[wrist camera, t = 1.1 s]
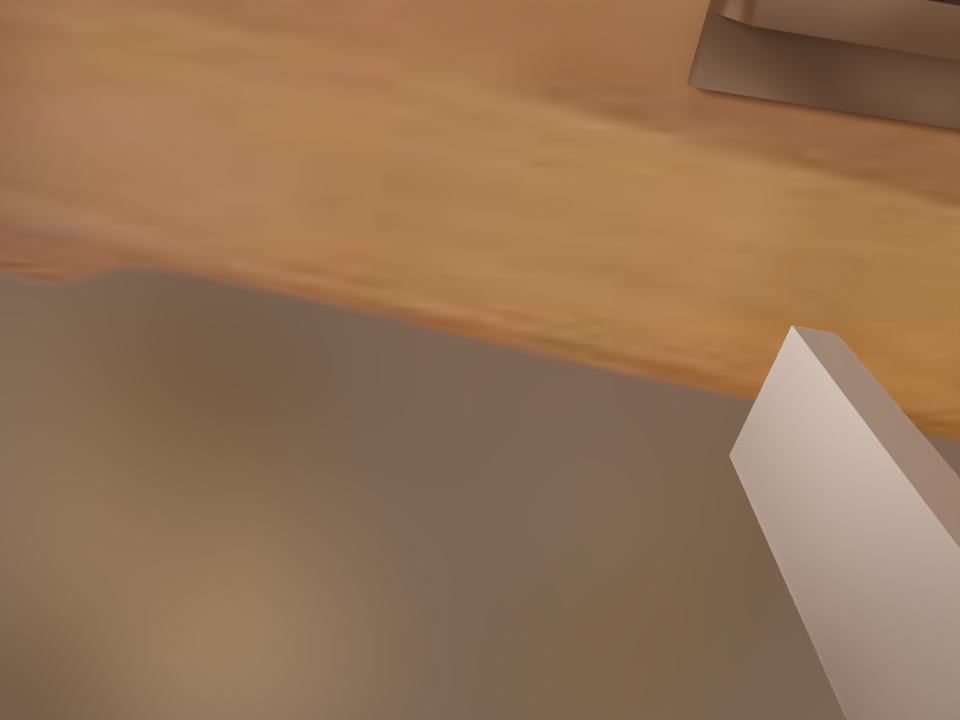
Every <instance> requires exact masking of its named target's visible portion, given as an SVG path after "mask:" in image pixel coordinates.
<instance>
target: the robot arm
mask: <svg viewBox="0 0 960 720" xmlns="http://www.w3.org/2000/svg"><path fill="white" fill-rule="evenodd" d="M729 456H730V458H731V460H732V463H733V465H734V467H735V469H736V472H737V474H738V476H739V478H740V481H741V483H742V485H743V487H744V489H745V492H746V494H747V496H748V499H749V501H750V503H751V505H752V508H753V510H754V512H755V514H756V516H757V519H758V521H759V523H760V526H761V528H762V530H763V532H764V535H765V537H766V539H767V541H768V544H769V546H770V548H771V551H772V553H773V555H774V557H775V560H776V562H777V564H778V566H779V568H780V571H781V573H782V575H783V578H784V580H785V582H786V584H787V587H788V589H789V591H790V593H791V596H792V598H793V600H794V602H795V605H796V607H797V609H798V611H799V613H800V616H801V618H802V620H803V623H804V625H805V627H806V629H807V632H808V634H809V636H810V638H811V641H812V643H813V645H814V647H815V649H816V652H817V654H818V656H819V659H820V661H821V663H822V665H823V668H824V670H825V672H826V675H827V677H828V679H829V681H830V684H831V686H832V688H833V690H834V693H835V695H836V697H837V699H838V702H839V704H840V706H841V708H842V710H843V713H844V715H845V717H846V720H960V478H959V477H958V476H957V474H956V473H955V472H954V471H953V470H952V468H951V467H950V466H949V465H948V464H947V463H946V462H945V460H944V459H943V458H942V457H941V456H940V454H939V453H938V452H937V451H936V450H935V449H934V447H933V446H932V445H931V444H930V443H929V441H928V440H927V439H926V438H925V437H924V435H923V434H922V433H921V432H920V431H919V430H918V428H917V427H916V426H915V425H914V424H913V422H912V421H911V420H910V419H909V418H908V417H907V415H906V414H905V413H904V412H903V411H902V410H901V408H900V407H899V406H898V405H897V404H896V402H895V401H894V400H893V399H892V398H891V397H890V395H889V394H888V393H887V392H886V391H885V389H884V388H883V387H882V386H881V385H880V384H879V382H878V381H877V380H876V379H875V378H874V376H873V375H872V374H871V373H870V372H869V371H868V369H867V368H866V367H865V366H864V365H863V364H862V362H861V361H860V360H859V359H858V358H857V356H856V355H855V354H854V353H853V352H852V351H851V349H850V348H849V347H848V346H847V345H846V343H845V342H844V341H843V340H842V339H841V338H840V336H839V335H838V334H837V333H833V332H827V331H822V330H816V329H811V328H805V327H799V326H794V325H792V326H791V328H790V330H789V333H788V335H787V337H786V339H785V341H784V343H783V345H782V347H781V349H780V351H779V353H778V355H777V358H776V360H775V362H774V364H773V366H772V368H771V370H770V372H769V374H768V376H767V378H766V380H765V383H764V385H763V387H762V389H761V391H760V393H759V395H758V397H757V399H756V401H755V403H754V405H753V407H752V410H751V412H750V414H749V416H748V418H747V420H746V422H745V424H744V426H743V428H742V430H741V433H740V435H739V437H738V439H737V441H736V443H735V445H734V447H733V449H732V451H731V453H730V455H729Z"/></svg>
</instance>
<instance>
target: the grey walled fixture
mask: <svg viewBox="0 0 960 720" xmlns="http://www.w3.org/2000/svg"><path fill="white" fill-rule="evenodd" d="M687 83H688V84H689V85H690V86H691V87H693V88H699V89H706V90H712V91H718V92H725V93H731V94H737V95H743V96H750V97H756V98H762V99H769V100H775V101H781V102H788V103H794V104H800V105H806V106H813V107H819V108H825V109H832V110H838V111H844V112H851V113H857V114H863V115H869V116H876V117H882V118H888V119H895V120H901V121H907V122H914V123H920V124H926V125H933V126H939V127H945V128H951V129H958V130H960V0H711V1H710V4H709V8H708V11H707V15H706V18H705V22H704V26H703V29H702V33H701V36H700V40H699V43H698V47H697V50H696V54H695V57H694V61H693V65H692V68H691V72H690V75H689V79H688V82H687Z"/></svg>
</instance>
